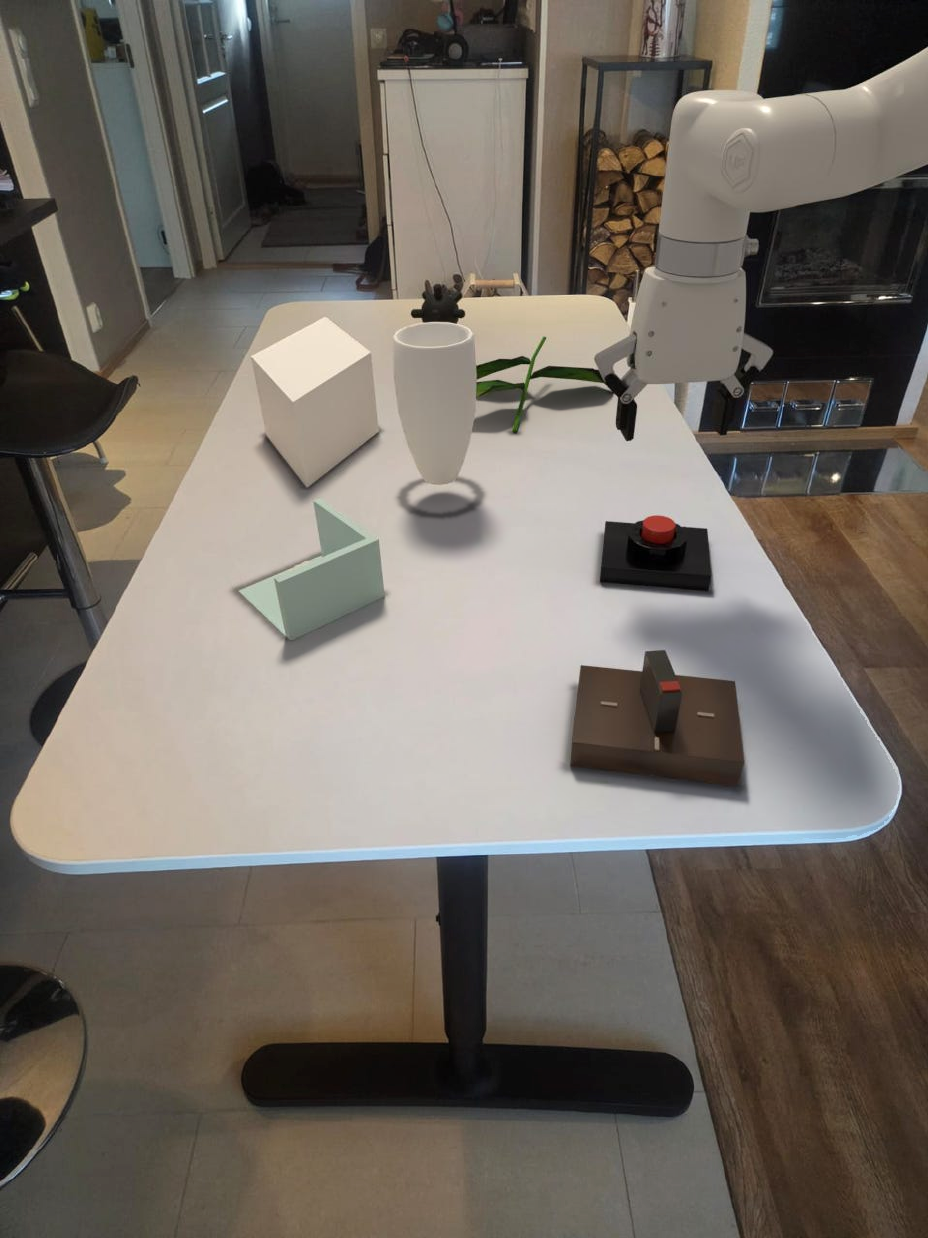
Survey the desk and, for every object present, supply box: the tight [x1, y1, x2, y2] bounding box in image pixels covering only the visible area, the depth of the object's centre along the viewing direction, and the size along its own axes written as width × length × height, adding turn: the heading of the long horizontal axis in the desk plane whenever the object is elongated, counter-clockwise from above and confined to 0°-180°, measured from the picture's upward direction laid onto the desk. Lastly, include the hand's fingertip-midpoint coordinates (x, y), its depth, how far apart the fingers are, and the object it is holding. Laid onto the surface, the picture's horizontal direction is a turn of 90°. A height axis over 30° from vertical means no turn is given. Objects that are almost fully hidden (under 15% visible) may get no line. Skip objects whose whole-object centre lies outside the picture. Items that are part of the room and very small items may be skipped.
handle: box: [640, 649, 682, 733], centre depth 69 cm, size 6×2×5 cm, turn 3°
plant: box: [476, 336, 607, 433], centre depth 130 cm, size 19×27×8 cm
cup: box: [391, 322, 477, 486], centre depth 101 cm, size 10×10×22 cm
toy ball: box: [410, 283, 466, 324], centre depth 156 cm, size 11×11×12 cm
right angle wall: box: [238, 497, 386, 642], centre depth 88 cm, size 12×12×8 cm
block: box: [250, 316, 380, 488], centre depth 120 cm, size 18×35×12 cm, turn 1°
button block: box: [599, 519, 713, 593], centre depth 92 cm, size 12×10×4 cm
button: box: [641, 514, 676, 544], centre depth 91 cm, size 4×4×2 cm
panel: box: [569, 664, 745, 787], centre depth 71 cm, size 14×10×3 cm
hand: (672, 432), depth 82 cm, fingers open, 9 cm apart
